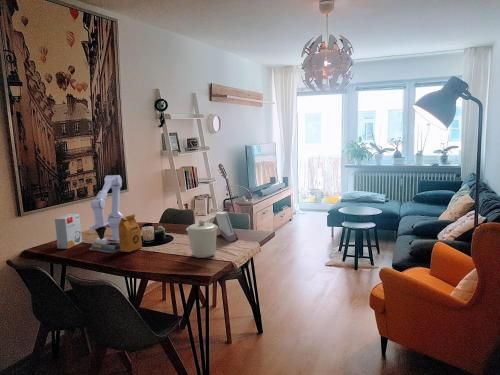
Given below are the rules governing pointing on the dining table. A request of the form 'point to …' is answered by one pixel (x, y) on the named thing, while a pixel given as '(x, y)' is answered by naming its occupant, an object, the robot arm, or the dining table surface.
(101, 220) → the robot arm
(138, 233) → the coffee package
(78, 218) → the hard drive box
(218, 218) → the gaming console
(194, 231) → the canister
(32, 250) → the dining table surface
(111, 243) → the frame
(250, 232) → the dining table surface
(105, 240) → the white rectangular block
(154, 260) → the dining table surface
